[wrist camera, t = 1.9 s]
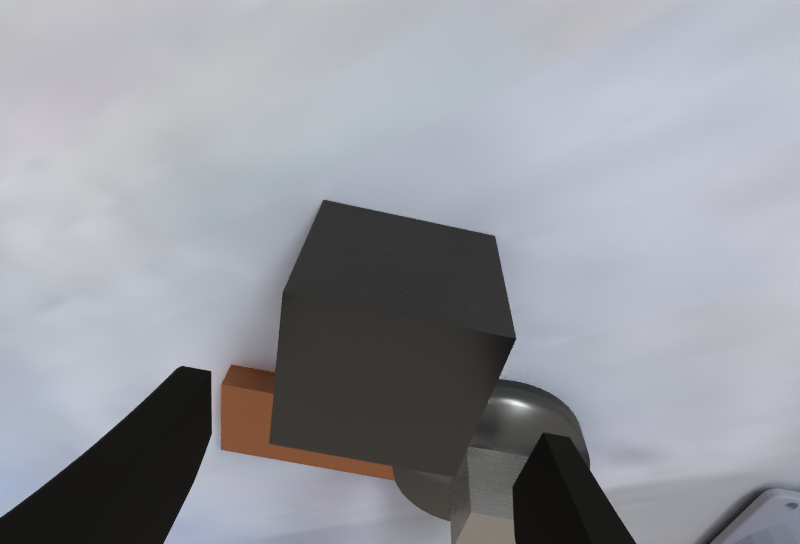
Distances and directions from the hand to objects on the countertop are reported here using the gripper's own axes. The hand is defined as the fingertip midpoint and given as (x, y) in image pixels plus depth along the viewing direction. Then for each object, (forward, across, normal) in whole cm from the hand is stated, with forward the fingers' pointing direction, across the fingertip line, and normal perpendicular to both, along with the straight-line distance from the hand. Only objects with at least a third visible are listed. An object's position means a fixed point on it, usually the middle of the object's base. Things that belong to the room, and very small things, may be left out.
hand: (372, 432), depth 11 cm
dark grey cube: (+6, 0, 0) cm, 6 cm away
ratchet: (+6, -2, +7) cm, 9 cm away
